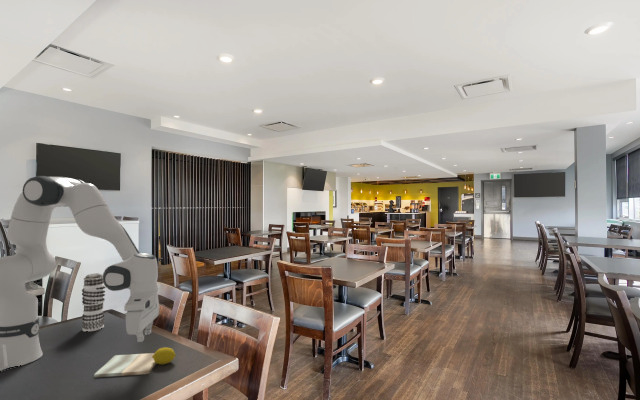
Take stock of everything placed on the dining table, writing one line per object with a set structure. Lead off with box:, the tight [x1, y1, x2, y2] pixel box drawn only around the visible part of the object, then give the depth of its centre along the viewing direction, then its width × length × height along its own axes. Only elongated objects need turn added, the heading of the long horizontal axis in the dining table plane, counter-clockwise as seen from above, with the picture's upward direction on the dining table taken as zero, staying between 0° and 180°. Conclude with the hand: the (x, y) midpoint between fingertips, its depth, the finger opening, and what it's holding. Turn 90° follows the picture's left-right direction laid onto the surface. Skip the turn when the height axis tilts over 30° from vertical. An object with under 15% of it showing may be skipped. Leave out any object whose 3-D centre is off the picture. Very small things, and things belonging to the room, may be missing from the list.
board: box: [93, 352, 157, 378], centre depth 117 cm, size 17×14×1 cm
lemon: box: [152, 347, 176, 365], centre depth 118 cm, size 6×6×8 cm
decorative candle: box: [81, 273, 107, 332], centre depth 153 cm, size 9×9×25 cm
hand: (144, 337), depth 117 cm, fingers open, 5 cm apart
